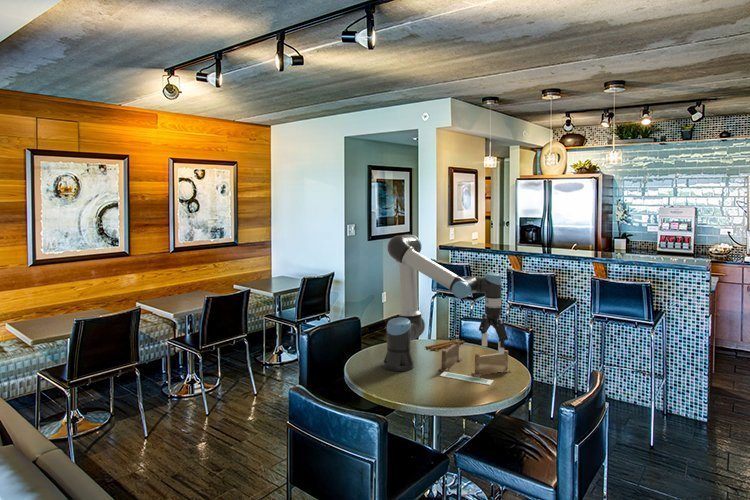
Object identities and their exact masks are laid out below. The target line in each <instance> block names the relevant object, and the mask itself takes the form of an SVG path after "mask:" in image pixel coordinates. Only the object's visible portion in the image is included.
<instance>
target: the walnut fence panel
mask: <svg viewBox="0 0 750 500" xmlns="http://www.w3.org/2000/svg"><path fill="white" fill-rule="evenodd" d="M459 345H460V344H459V341H455V344H453V345H451V346H448V347H449V348H448V349H447V348H445V349H442V350H441V366H440V367H439V368H438V372H442V373H443V372H450V368H451V367H452V366H454V365H455V364H456V363H457V362H458V361H459V362H458V363H460V362H461V361H463V360H462V359H463V358H461V357H460V346H459Z"/></svg>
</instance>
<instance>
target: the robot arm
mask: <svg viewBox="0 0 750 500" xmlns="http://www.w3.org/2000/svg"><path fill="white" fill-rule="evenodd" d="M421 250H422V242H421V240H420V238H418V237H417V236H416V235H414V234H408V233H407V234H402V235H395V236H392V238H390V240H389V241H388V243H387V252H388V254H389V256H390V257H391V258H392V259H394V260H395V262H396V263H397V264H398V265H399V282H400V283H399V285H400V304H401V307H400V308H401V310H400V312H399V313H398V316H397V317H395V318H391V319H389V320H388V321H387V324H386V352H385V355H384V358H383V362H382V363H383V366H382V367H383V368H384V369H386V370H388V371H392V372H406V371H410V370H413V369H414V365H415V363H414V361H415V360H414V359H413V356H412V351H411V341H413V340H415V339H417V338H419V337H420V336H422V334H423V333H424V331H425V328H426V323H425V319H423V317H422V312H421V311H420V310H419V301H418V300H419V299H418V281H417V280H418V278H417V277H418V276H417V271H418V273H421V274H423V275H424V276H426V277H428V278H429V279H431V280H433V281H435V283H436V282H437V283H438V284H440V285H441V286H443V287H445V289H446V288H447V289H448V290H450V291H451V292H452V293H453V295H454V297H456V298H458V299H464V298H467V297H470V296H469V295H472V294H474V293H475V294H476V293H478V294H479V293H480V294H484V313H482V318H481V320H480V324H479V327H478V331H479V332H480V334H481V347H482V348H485V347H488V331H489V329H490V327H492V328H493V329H494V330H495V333H496V335H497V337H498V341H497V345H498V347H497V353H498V354H499V355H501V354H504V350H505V342H506V341H508V339H509V338H508V334H507V331H506V326H505V320H504V318H500V316H501V314H502V307H501V306H502V286H503V285H502V284H503V283H502V275H501V274H500V273H497V272H496V273H495V272H492V273H491V272H490V273H488V272H487V273H485V275H484V277H483V276H481V277H480V276H470V275H468V276H467V275H465V276H459V275H457V274H456V273H454V272H452V271H450V270H449V269H447V268H446V267H444V266H443V265H440V264H439V263H437V262H435V261H433V260H432V259H430V258H428V257H426V256H425V255H424V254H421Z"/></svg>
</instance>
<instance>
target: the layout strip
mask: <svg viewBox="0 0 750 500" xmlns="http://www.w3.org/2000/svg"><path fill="white" fill-rule="evenodd" d="M439 377H443V378H448V379H453V380H460V381H464V382H470V383H475V384H481V385H486V386H491V385H492V384H493V383H494V379H487V378H483V377H476V376H471V375H466V374H461V373H455V372H450V371H448V372H442V373H440V374H439Z"/></svg>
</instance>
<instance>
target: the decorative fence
mask: <svg viewBox="0 0 750 500" xmlns="http://www.w3.org/2000/svg"><path fill="white" fill-rule="evenodd" d="M447 341H448V342H447ZM447 341H444V342H439V343H434V344H431V345H425V346H424V348H426V349H428V350H430V351H434V352H439V351H440V350H439V349H448V348H449V347H450V346H452V345H453V344H455V341H459V347H461V345H460V344H465V340H461V339H453V340H447Z"/></svg>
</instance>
